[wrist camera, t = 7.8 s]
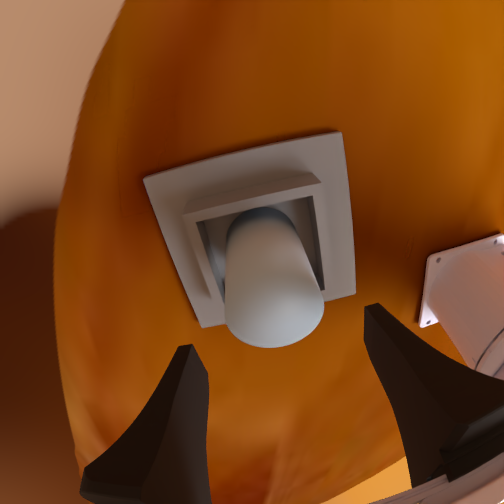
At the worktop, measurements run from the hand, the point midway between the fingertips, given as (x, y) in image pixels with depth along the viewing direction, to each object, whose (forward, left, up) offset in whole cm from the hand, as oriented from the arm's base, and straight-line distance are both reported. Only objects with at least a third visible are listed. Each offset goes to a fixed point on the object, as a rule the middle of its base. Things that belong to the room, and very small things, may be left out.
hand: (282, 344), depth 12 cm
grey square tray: (0, 0, -9) cm, 9 cm away
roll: (0, 0, -9) cm, 9 cm away
